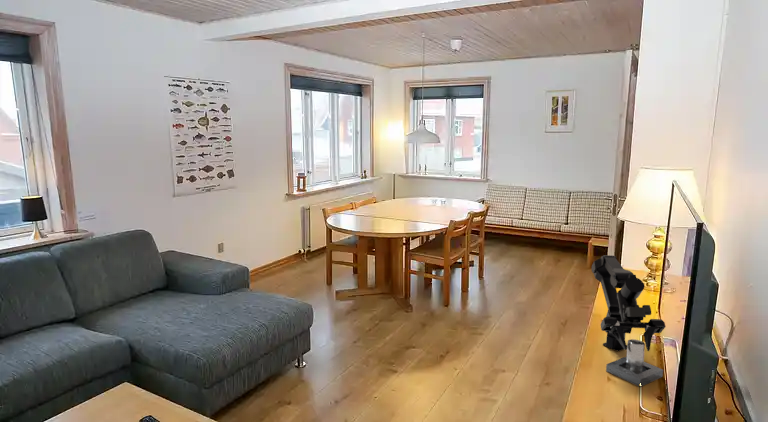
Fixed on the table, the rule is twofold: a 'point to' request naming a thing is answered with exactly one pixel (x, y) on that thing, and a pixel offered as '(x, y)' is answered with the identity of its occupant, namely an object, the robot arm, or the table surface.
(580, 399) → the table surface
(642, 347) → the ring
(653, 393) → the table surface
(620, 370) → the jig
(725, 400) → the table surface
